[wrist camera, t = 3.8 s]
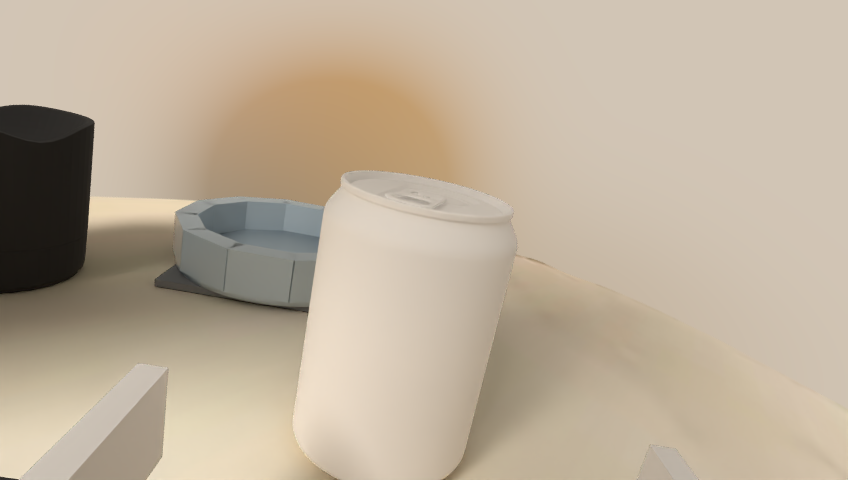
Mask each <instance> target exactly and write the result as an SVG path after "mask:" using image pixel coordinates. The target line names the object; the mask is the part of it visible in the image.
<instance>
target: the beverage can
mask: <svg viewBox="0 0 848 480" xmlns="http://www.w3.org/2000/svg"><path fill="white" fill-rule="evenodd" d="M341 185H342V186H341V187H340V188H339V189H338V190H337V191H336V192H335V193H334V194H333V195H332V196H331V198H330V199H329V200H328V202H327V203H326V205H325V208H324V212H323V219H322V225H321V232H320V239H319V245H318V252H317V259H316V266H315V272H314V279H313V286H312V292H311V299H310V306H309V313H308V319H307V326H306V333H305V339H304V346H303V353H302V360H301V366H300V373H299V380H298V387H297V393H296V400H295V407H294V414H293V432H294V435H295V438H296V441H297V443H298V445H299V447H300V448H301V450H302V451H303V453H304V454H305V455H306V456H307V457H308V459H309V460H310V461H311V462H313V463H314V464H315V465H316V466H317V467H319V468H320V469H321V470H323V471H324V472H326V473H327V474H329V475H331V476H332V477H334V478H336V479H338V480H442V479H444V478H445V477H447V476H448V475H449V474H450V473H451V472H453V471H454V469H455V468H456V467H457V466H458V465H459V463H460V462H461V460H462V458H463V455H464V452H465V448H466V444H467V441H468V437H469V433H470V429H471V425H472V421H473V418H474V414H475V410H476V406H477V402H478V398H479V394H480V391H481V387H482V383H483V379H484V375H485V371H486V367H487V364H488V360H489V356H490V352H491V348H492V344H493V340H494V336H495V333H496V329H497V325H498V321H499V317H500V313H501V309H502V306H503V302H504V298H505V294H506V290H507V286H508V282H509V279H510V275H511V271H512V267H513V263H514V259H515V255H516V251H517V238H516V234H515V231H514V229H513V227H512V224H511V221H510V220H511V219H512V217H513V214H514V210H513V208H512V207H511V206H510V205H509V204H507V203H506V202H504V201H502V200H500V199H498V198H496V197H493V196H491V195H488V194H486V193H482V192H480V191H477V190H474V189H470V188H467V187H464V186H460V185H456V184H452V183H449V182H444V181H440V180H435V179H431V178H425V177H420V176H415V175H408V174H402V173H394V172H384V171H351V172H347V173H345V174H343V175H342V177H341Z"/></svg>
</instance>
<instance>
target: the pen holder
mask: <svg viewBox="0 0 848 480" xmlns="http://www.w3.org/2000/svg"><path fill="white" fill-rule="evenodd" d="M94 124H95V123H94V121H93V120H92V119H90V118H88V117H85V116H82V115H79V114H75V113H71V112H67V111H62V110H58V109H53V108H48V107H42V106H34V105H33V106H32V105H9V106H2V107H0V293H8V292H18V291H26V290H32V289H37V288H42V287H46V286H50V285H53V284H56V283H59V282H62V281H64V280H66V279H68V278H70V277H72V276H73V275H75V274H76V273H77V272H78V270H80V269H81V267H82V266H83V264H84V260H85V252H86V240H87V229H88V216H89V201H90V186H91V170H92V155H93V139H94Z"/></svg>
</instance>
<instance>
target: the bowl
mask: <svg viewBox="0 0 848 480" xmlns="http://www.w3.org/2000/svg"><path fill="white" fill-rule="evenodd" d="M324 208H325V207H324V206H317V205H313V204H307V203H302V202H297V201H291V200H285V199H270V198H253V197H229V198H218V199H207V200H199V201H196V202H194V203H192V204H190V205H188V206H186V207H184V208H182V209H180V210H178V211H176V212H175V223H174V238H173V252H174V255H175V263H176V266H177V268H178V270H179V271H180V272H181V273H182V274H183V275H184V276H185V277H186V278H187V279H189V280H190V281H192V282H193V283H195V284H197V285H199V286H201V287H203V288H205V289H208V290H210V291H212V292H215V293H218V294H221V295H224V296H228V297H231V298H235V299H239V300H244V301H249V302H254V303H260V304H267V305H276V306H288V307H309V306H310V299H311V292H312V286H313V279H314V272H315V266H316V259H317V252H318V245H319V239H320V232H321V225H322V219H323V212H324Z"/></svg>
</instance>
